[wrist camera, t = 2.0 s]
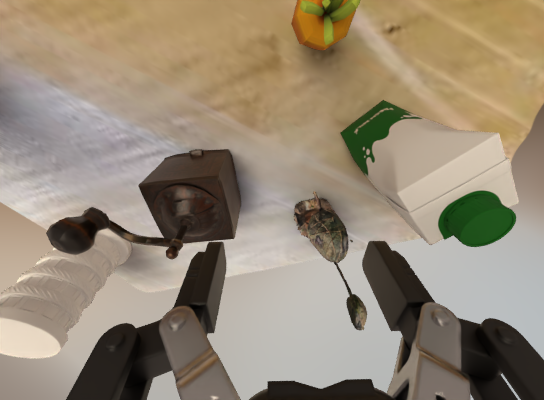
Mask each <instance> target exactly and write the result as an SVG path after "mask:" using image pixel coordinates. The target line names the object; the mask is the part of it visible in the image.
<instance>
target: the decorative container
mask: <svg viewBox="0 0 544 400" xmlns="http://www.w3.org/2000/svg"><path fill="white" fill-rule="evenodd" d="M131 251H132V247H131V243H130V241H127V240H125V239H123V238H121V237H120V236H118V235H117V234H115V233H114V232H112V231H111V230H110V229H108V228H107V229H104V230H100V231H98V233H97V235H96V237H95V243H94V245H93V246H92V247H91V248H90V249H89V250H87V251H86V252H84V253H81V254H78V255H72V254H68V253H64V252H61V251H59V250H57V249H56V248H55V247H54V248H53V250H52V252H49V253H47V254H46V255H44V257H41V259H39V261H38V262H37V264H36V266H35V267H34V268H31V269H29V270H28V271H26V272H25V273H23V274H22V276H20V278H19V279H18V280H17V283H16V284H15V285H14V286H11V287H9V288H8V289H6V290H4V291H3V292H2V293H0V353H1V354H5V355H9V356H14V357H21V358H34V359H35V358H47V357H51V356H54V355H56V354H58V353H59V351H60V350H61V348H62V347H63V346H64V344H65V343H66V342H67V340H68V336H67V332H68V331H69V329H70V328H72V327H73V326H74V325H75V324H76V323H77V322H78V321H79V319H80V316H81V313H82V311H83V310H84V309H85V308H87V307H88V306H89V305H90V304H91V303H92V301H93V299H94V297H95V294H96V292H97V291H99V290H100V289H101V288H102V287H103V286H104V285H105V282H106V280H107V277H108V276H110V275H111V274H112V273H113V272H114V271H115V269H116V266H119V265H121V264H123V263H124V262H125V261H126V260H127V259H128V257H129V256H130V254H131Z"/></svg>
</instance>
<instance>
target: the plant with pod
mask: <svg viewBox="0 0 544 400" xmlns="http://www.w3.org/2000/svg"><path fill="white" fill-rule="evenodd" d="M313 194H314V196H315V198H316V199H312V201H311V200H310V199H309V200H307V201H301V203H300V202H299V203H298V204H296V206H295V210H294V211H295V214H294V215H295V216H294V217H295V219H294V220H295V221H296V223H297V226H299V227H298V230H300V232H301V235H304V236H305V235H306V237H307V238H310V241H311V243H312V244H313V245H314V246H315V247H316V249H317V250H318V251H319V253H320V254H321V255H322V256H323V257H324V258H326V259H327V260H328V261H330V262H334V263H335V265H336V266H337V269H338V271H339V272H340V275H341V277H342V279H343V281H344V282H345V285H346V287H347V290H348V292H349V295H350V297H348V298H347V308H348V311H349V315H350V318H351V321H352V323H353V325H354V327H355V328H356V329H357V330H364V325H365V322H366V318H367V311H366V308H365V306H364V304H363V302H362V301H361V300H360V298H359V297H358V296H356V295H355V294H352V293H351V290H350V288H349V286H348V284H347V282H346V280H345V279H344V276H343V274H342V272H341V270H340V268H339V267H338V264H337V263H339V262H340V261H341V260H342V259H344V257H345V256H346V254H347V251H348V234H347V231H346V228H345V226H344V224H343V223H342V221H341V220H340V218H339V217H338V215H337V214H336V213H335V211H334V210H332V207H331V205H330V204H329V202H328V201H327V200H325V199H323V198H322V199H321V200H320V199H319V198H318V196H317V194H316V192H315V191H314V192H313ZM350 241H351V242H353V241H352V240H350Z"/></svg>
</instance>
